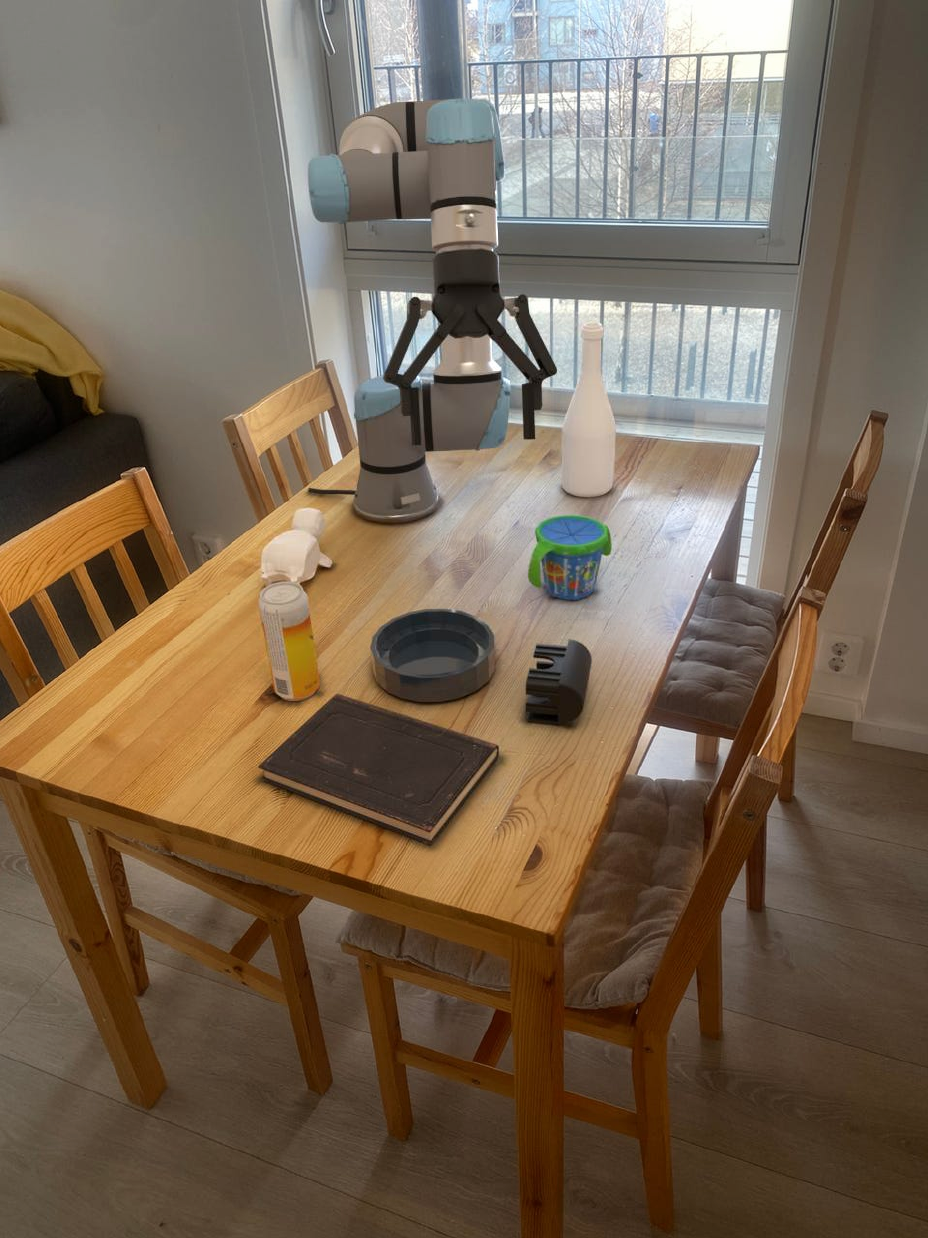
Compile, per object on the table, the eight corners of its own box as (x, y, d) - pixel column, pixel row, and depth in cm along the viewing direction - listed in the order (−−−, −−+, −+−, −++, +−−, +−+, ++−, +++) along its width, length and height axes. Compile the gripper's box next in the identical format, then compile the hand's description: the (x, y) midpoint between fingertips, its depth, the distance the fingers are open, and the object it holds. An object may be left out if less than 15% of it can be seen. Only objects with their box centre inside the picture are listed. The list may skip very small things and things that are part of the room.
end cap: (582, 731, 115) (584, 686, 112) (525, 725, 117) (525, 680, 113) (591, 683, 124) (592, 640, 120) (537, 678, 125) (537, 635, 121)
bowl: (348, 678, 127) (345, 650, 124) (426, 623, 138) (424, 596, 135) (444, 721, 118) (442, 692, 116) (519, 659, 129) (518, 631, 126)
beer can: (328, 680, 126) (314, 583, 118) (307, 707, 122) (291, 608, 114) (288, 673, 128) (271, 577, 120) (266, 699, 123) (247, 601, 115)
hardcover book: (430, 846, 100) (429, 830, 99) (261, 780, 110) (258, 765, 109) (499, 757, 112) (499, 742, 111) (340, 705, 122) (338, 690, 120)
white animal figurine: (314, 606, 149) (345, 535, 157) (298, 572, 142) (332, 499, 150) (265, 599, 151) (299, 529, 159) (247, 565, 144) (284, 494, 152)
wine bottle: (583, 473, 181) (588, 313, 165) (623, 486, 175) (632, 322, 159) (550, 489, 175) (552, 325, 159) (590, 503, 169) (596, 335, 153)
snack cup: (587, 560, 151) (589, 503, 146) (632, 587, 144) (635, 527, 138) (508, 591, 144) (507, 531, 139) (551, 620, 137) (551, 558, 131)
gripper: (358, 247, 102) (371, 447, 106) (580, 244, 106) (584, 437, 110) (353, 260, 109) (365, 446, 113) (561, 256, 113) (565, 436, 117)
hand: (473, 442), depth 112 cm, fingers open, 13 cm apart
